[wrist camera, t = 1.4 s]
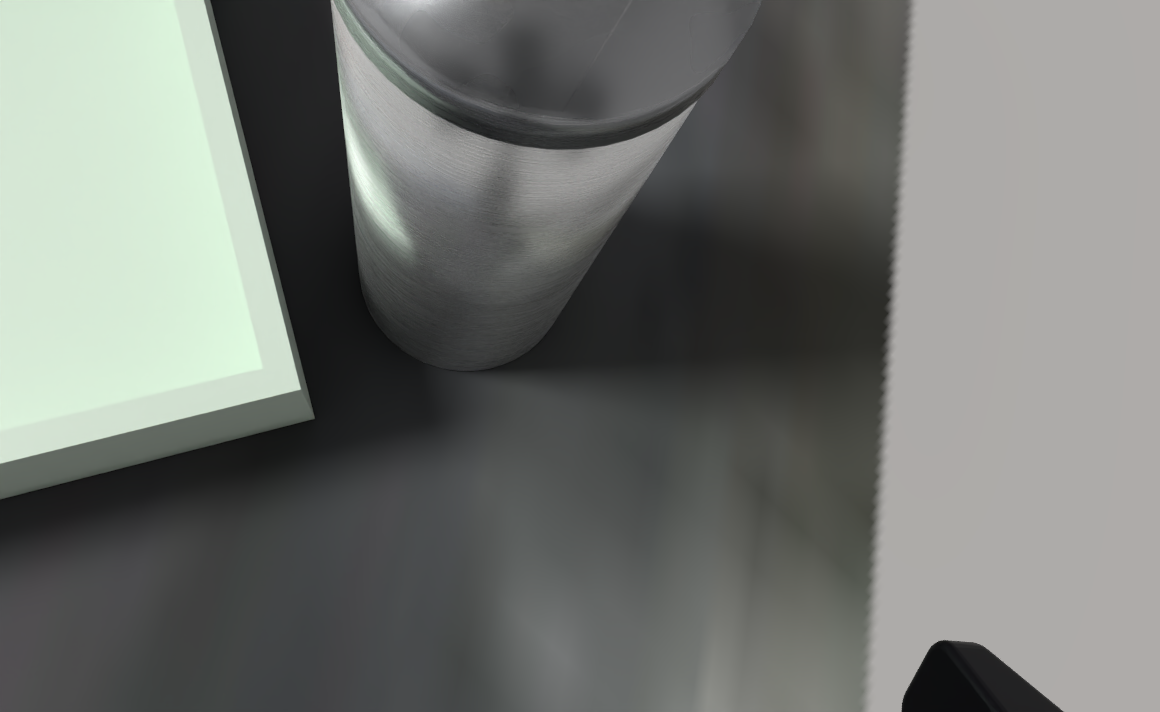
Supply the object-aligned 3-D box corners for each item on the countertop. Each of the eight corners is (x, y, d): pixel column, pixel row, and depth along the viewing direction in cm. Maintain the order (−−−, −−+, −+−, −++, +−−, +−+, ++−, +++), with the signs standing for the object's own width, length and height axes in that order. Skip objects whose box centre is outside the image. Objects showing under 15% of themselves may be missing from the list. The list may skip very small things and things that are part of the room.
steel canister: (542, 397, 22) (728, 176, 10) (329, 340, 22) (249, 27, 9) (587, 207, 24) (800, -192, 11) (390, 148, 23) (391, -345, 11)
